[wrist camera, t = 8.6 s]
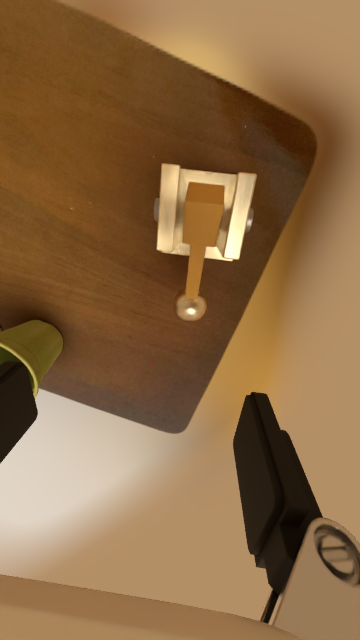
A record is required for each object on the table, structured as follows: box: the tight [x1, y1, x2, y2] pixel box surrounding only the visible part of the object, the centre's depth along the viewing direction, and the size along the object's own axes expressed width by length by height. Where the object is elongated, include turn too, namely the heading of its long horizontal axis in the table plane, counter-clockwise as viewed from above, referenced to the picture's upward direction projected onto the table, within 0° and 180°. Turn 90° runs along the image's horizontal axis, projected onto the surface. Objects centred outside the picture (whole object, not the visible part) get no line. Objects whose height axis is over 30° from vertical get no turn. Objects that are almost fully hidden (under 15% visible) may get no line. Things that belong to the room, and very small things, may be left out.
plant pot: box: [0, 320, 63, 398], centre depth 28 cm, size 9×9×9 cm
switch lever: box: [173, 182, 225, 322], centre depth 18 cm, size 12×3×3 cm
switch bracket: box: [154, 163, 257, 261], centre depth 18 cm, size 8×8×13 cm
